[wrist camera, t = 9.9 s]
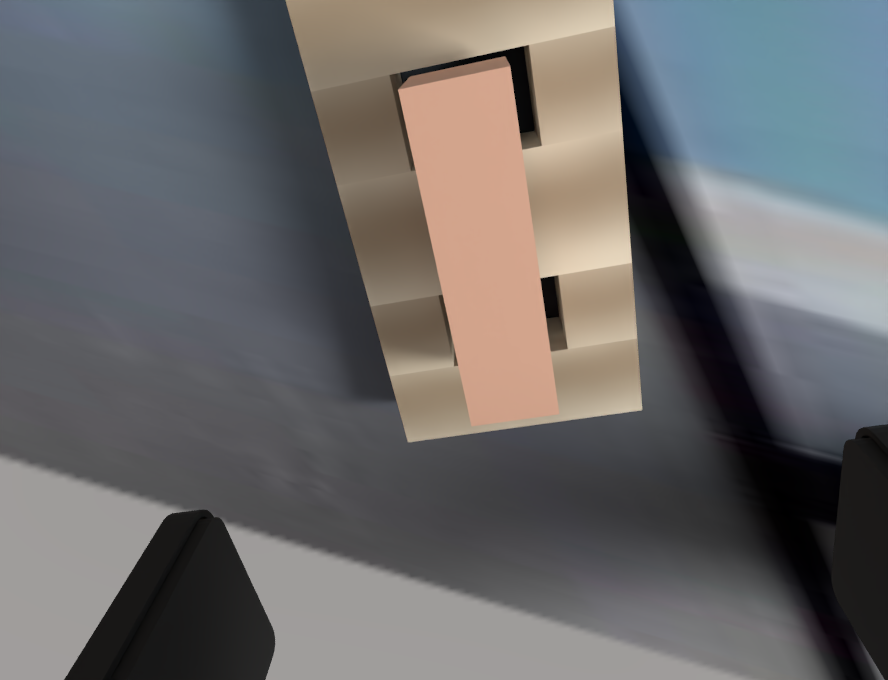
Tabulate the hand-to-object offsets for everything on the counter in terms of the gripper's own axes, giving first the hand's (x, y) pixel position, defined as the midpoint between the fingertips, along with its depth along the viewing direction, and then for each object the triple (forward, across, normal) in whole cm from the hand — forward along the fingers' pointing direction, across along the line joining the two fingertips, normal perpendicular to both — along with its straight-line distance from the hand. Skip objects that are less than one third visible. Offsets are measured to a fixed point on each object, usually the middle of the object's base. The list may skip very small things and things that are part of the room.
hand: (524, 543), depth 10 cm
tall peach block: (+18, 0, 0) cm, 18 cm away
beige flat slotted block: (+18, 0, 0) cm, 18 cm away
